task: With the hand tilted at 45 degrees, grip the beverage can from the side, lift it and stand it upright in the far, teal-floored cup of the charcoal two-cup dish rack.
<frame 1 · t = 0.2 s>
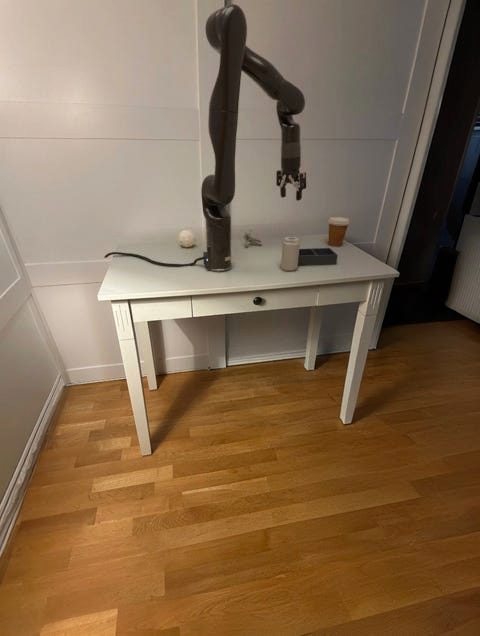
hand: (290, 198, 129), 22 cm above the table, tool pointing down, fingers open, 8 cm apart
disposable coffee cup: (334, 244, 149), on the table
geometric ball: (187, 247, 144), on the table
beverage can: (288, 269, 122), on the table
dish rack: (312, 261, 129), on the table
elephant figurine: (251, 245, 148), on the table
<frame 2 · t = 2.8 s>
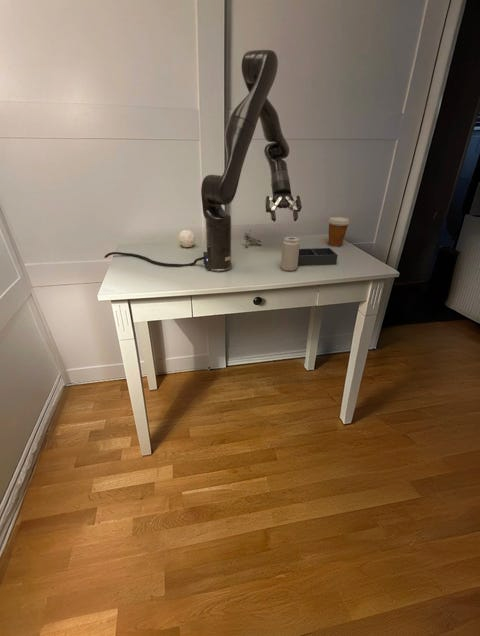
hand: (285, 220, 124), 16 cm above the table, tool tilted 45°, fingers open, 8 cm apart
nothing on the table moved.
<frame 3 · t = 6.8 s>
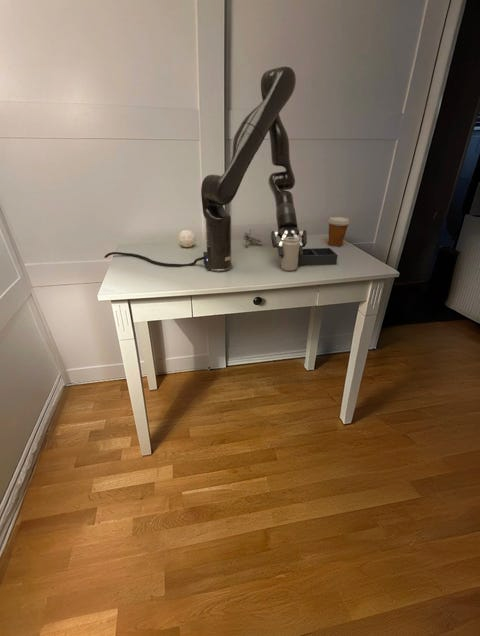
hand: (291, 256, 118), 6 cm above the table, tool tilted 45°, fingers closed on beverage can, 6 cm apart
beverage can: (288, 269, 122), on the table, touching gripper
everything else where it was.
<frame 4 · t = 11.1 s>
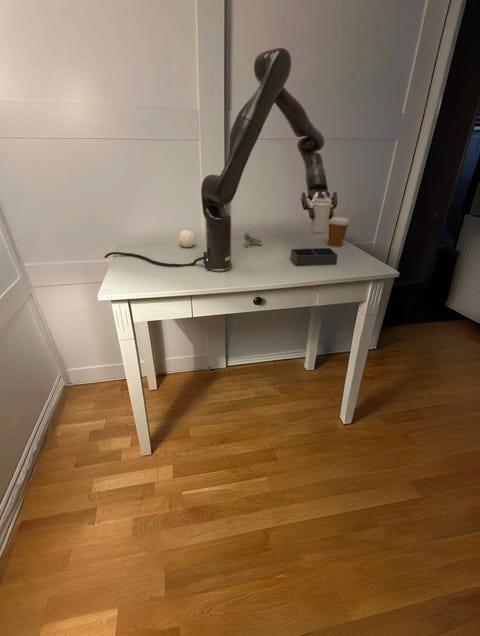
hand: (322, 218, 117), 18 cm above the table, tool tilted 45°, fingers closed on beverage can, 6 cm apart
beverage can: (318, 232, 122), point 13 cm above the table, touching gripper
everything else where it was.
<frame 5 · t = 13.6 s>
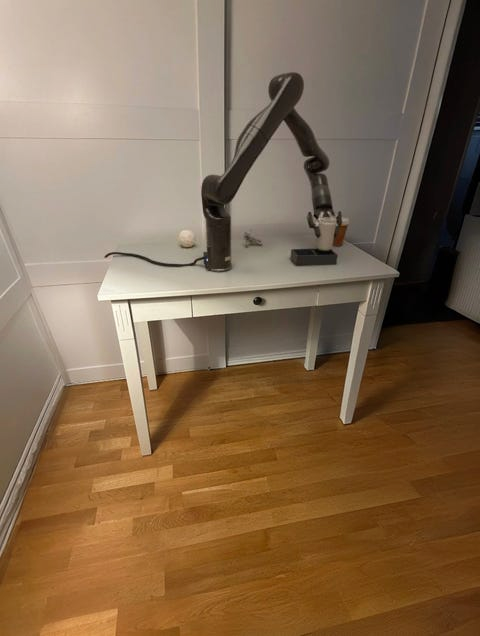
hand: (327, 236, 123), 11 cm above the table, tool tilted 45°, fingers closed on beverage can, 6 cm apart
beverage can: (323, 249, 127), point 5 cm above the table, touching gripper
everything else where it was.
when the fingers open (6 cm above the table, at t = 15.5 s): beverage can stays where it is, resting on dish rack.
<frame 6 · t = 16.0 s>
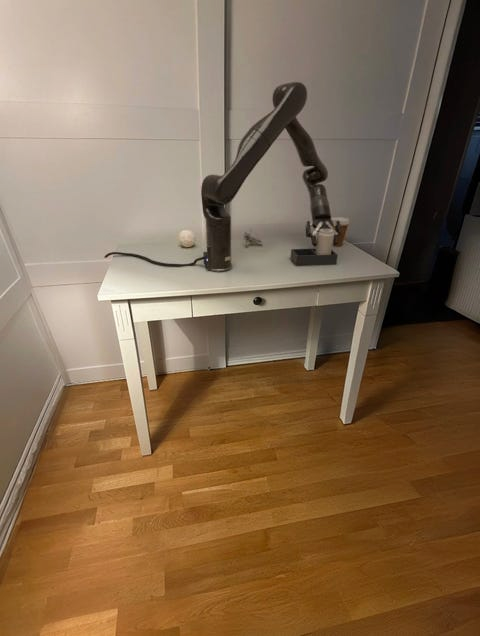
hand: (325, 245, 125), 7 cm above the table, tool tilted 45°, fingers open, 8 cm apart
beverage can: (322, 259, 130), point 1 cm above the table, touching dish rack
everything else where it was.
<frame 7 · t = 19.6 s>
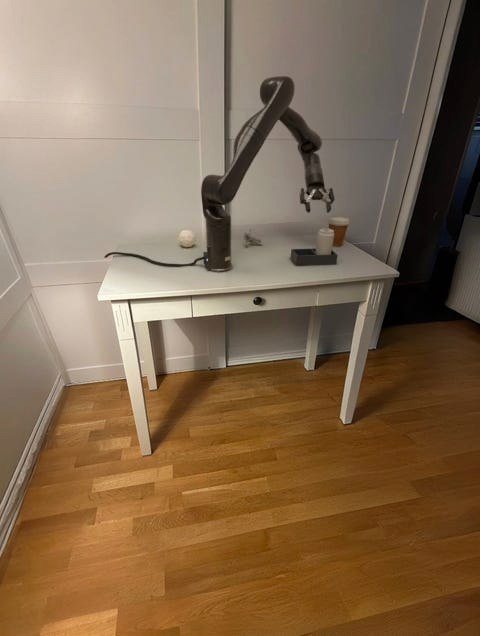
hand: (319, 211, 130), 18 cm above the table, tool tilted 45°, fingers open, 8 cm apart
nothing on the table moved.
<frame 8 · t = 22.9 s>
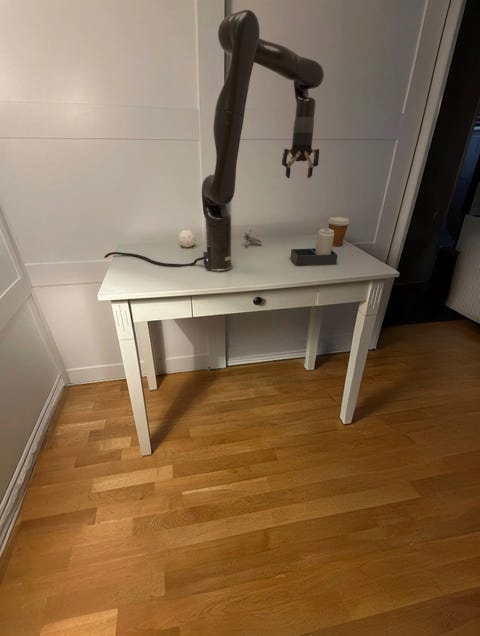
hand: (298, 178, 126), 30 cm above the table, tool pointing down, fingers open, 8 cm apart
nothing on the table moved.
at the end: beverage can 0.2 cm from the target spot in the dish rack, point 0.6 cm above the dish rack's base; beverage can tilted 0°; the gripper is holding nothing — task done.
